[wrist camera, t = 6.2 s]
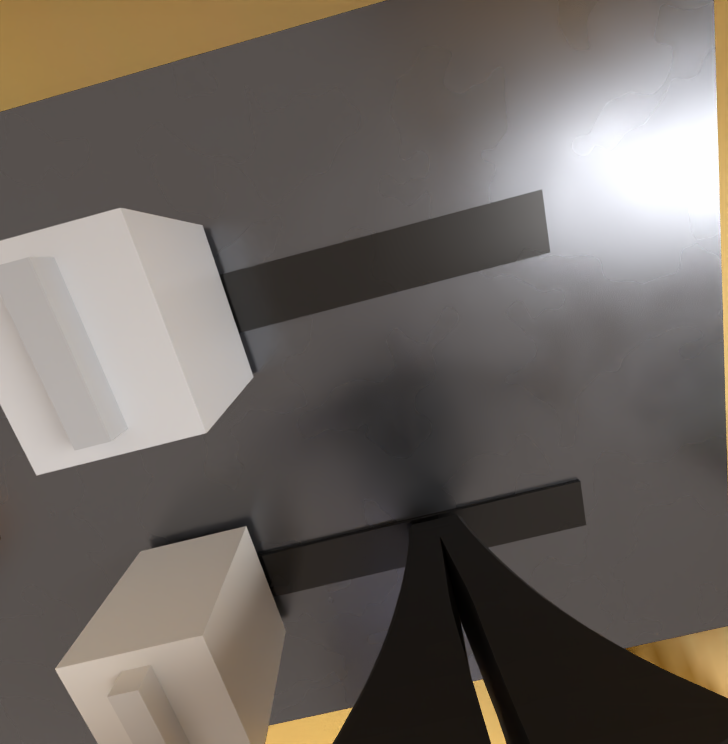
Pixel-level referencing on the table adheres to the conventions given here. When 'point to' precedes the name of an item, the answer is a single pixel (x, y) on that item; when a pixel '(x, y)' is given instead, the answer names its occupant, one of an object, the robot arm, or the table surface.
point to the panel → (404, 326)
